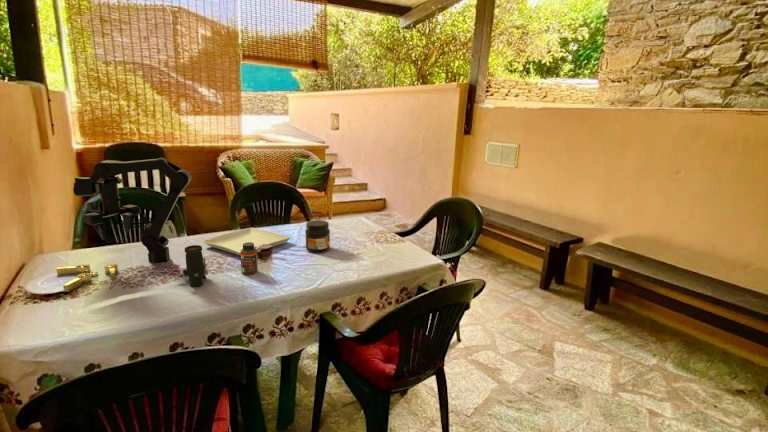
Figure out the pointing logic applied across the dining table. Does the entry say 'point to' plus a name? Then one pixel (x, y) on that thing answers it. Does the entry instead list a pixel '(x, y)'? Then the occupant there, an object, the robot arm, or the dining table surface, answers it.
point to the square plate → (246, 239)
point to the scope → (195, 266)
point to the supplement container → (317, 236)
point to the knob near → (111, 270)
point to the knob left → (77, 281)
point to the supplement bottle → (249, 259)
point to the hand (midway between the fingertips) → (115, 236)
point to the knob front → (74, 269)
